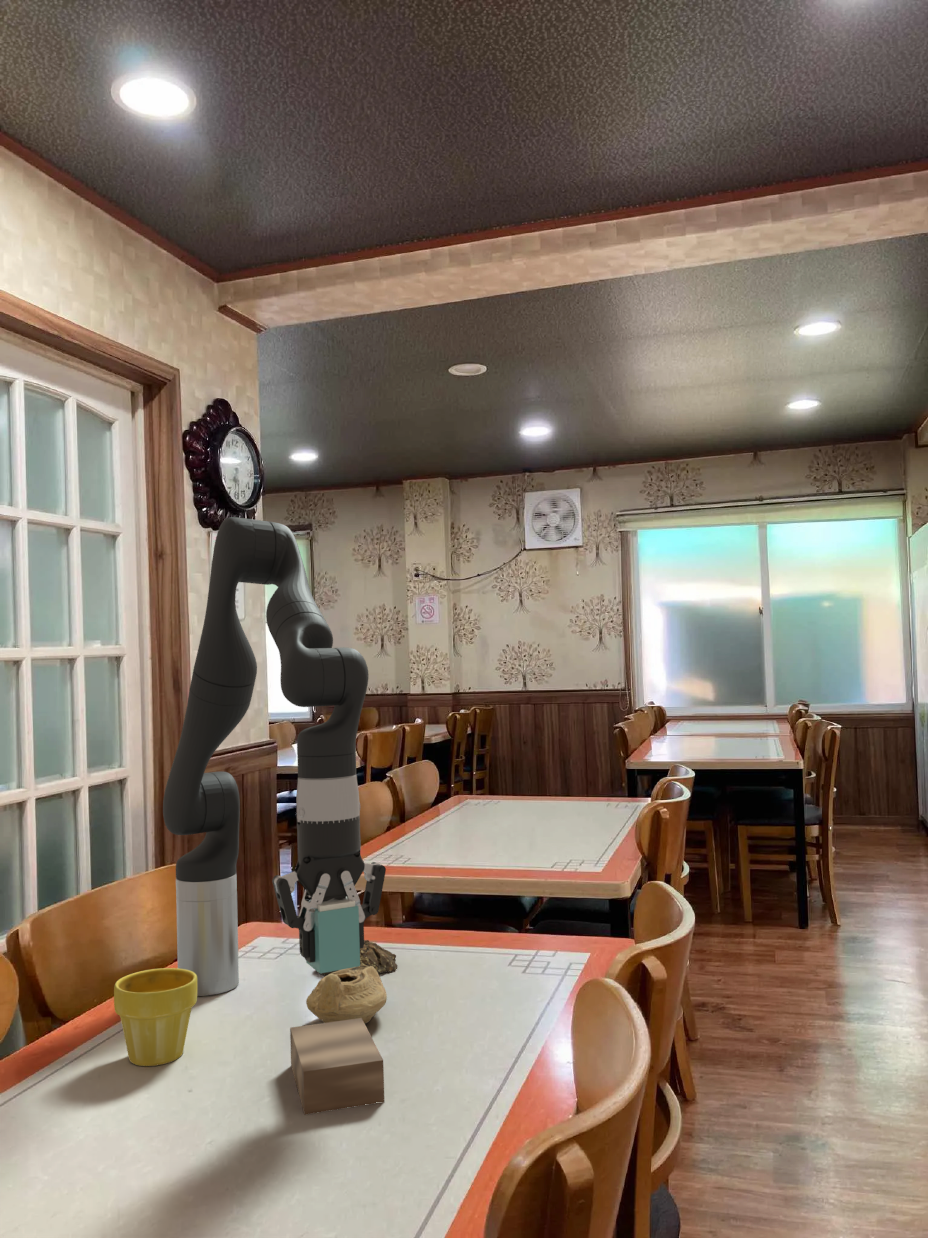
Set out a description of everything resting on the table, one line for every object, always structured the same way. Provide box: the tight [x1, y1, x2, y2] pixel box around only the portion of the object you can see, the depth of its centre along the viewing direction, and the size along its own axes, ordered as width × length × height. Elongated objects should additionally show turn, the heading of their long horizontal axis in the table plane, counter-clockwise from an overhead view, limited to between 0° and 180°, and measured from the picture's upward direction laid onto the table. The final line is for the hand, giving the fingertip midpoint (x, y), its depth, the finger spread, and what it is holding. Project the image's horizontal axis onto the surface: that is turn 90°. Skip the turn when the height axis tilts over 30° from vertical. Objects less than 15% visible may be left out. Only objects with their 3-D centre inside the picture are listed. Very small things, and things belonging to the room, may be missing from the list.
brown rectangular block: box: [289, 1018, 385, 1116], centre depth 116 cm, size 14×9×5 cm, turn 16°
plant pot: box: [113, 967, 198, 1067], centre depth 126 cm, size 10×10×10 cm
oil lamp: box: [305, 965, 388, 1025], centre depth 138 cm, size 11×15×8 cm
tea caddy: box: [305, 896, 360, 974], centre depth 117 cm, size 5×5×8 cm
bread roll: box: [315, 939, 399, 977], centre depth 161 cm, size 13×12×5 cm
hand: (332, 956), depth 117 cm, fingers closed on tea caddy, 5 cm apart
